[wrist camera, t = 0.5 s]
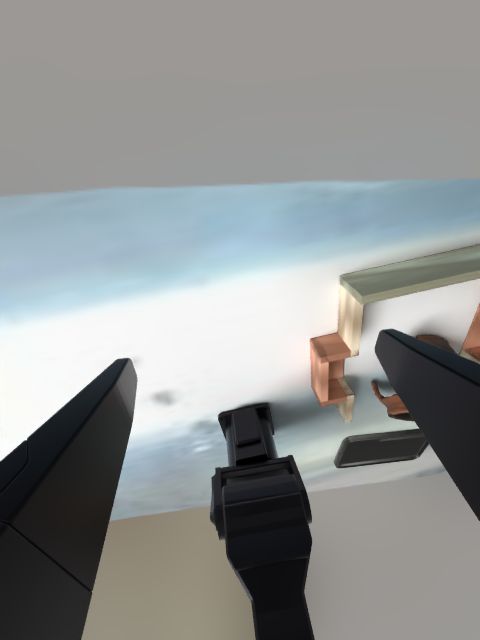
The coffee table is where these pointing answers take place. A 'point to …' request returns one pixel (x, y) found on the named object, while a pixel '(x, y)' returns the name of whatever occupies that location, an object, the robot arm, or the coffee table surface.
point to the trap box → (376, 288)
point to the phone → (380, 448)
